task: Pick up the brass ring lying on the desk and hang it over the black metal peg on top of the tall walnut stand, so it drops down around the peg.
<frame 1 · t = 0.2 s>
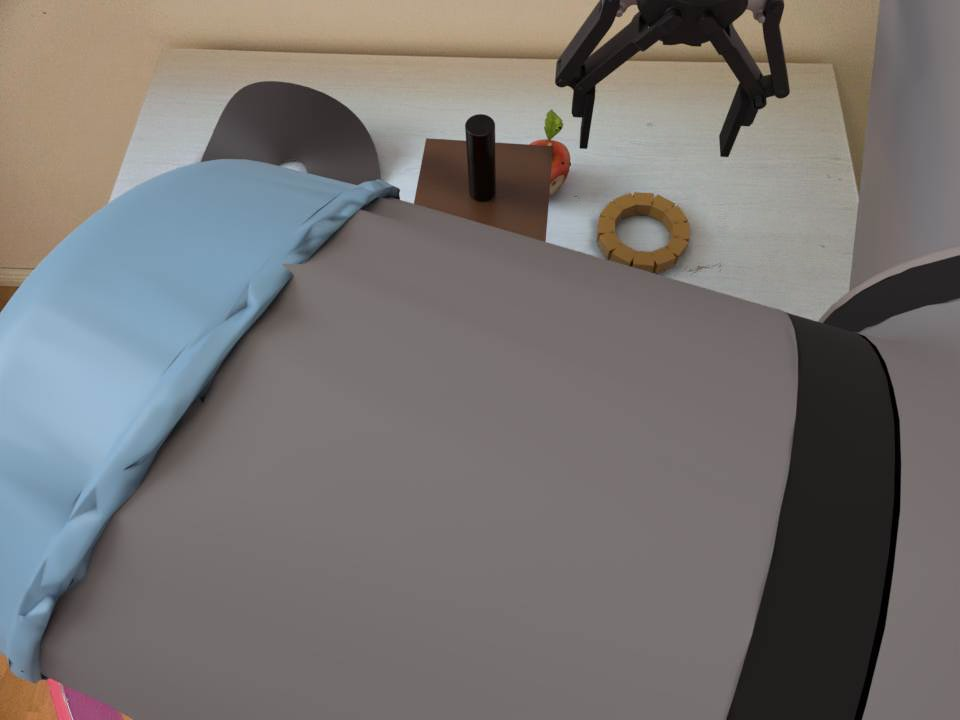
hand: (653, 142, 68), 19 cm above the table, tool pointing down, fingers open, 13 cm apart
ring: (641, 237, 86), on the table
post: (482, 191, 62), resting on stand
apple: (540, 188, 90), on the table
dark holed disc: (281, 194, 91), on the table
stand: (487, 315, 82), on the table
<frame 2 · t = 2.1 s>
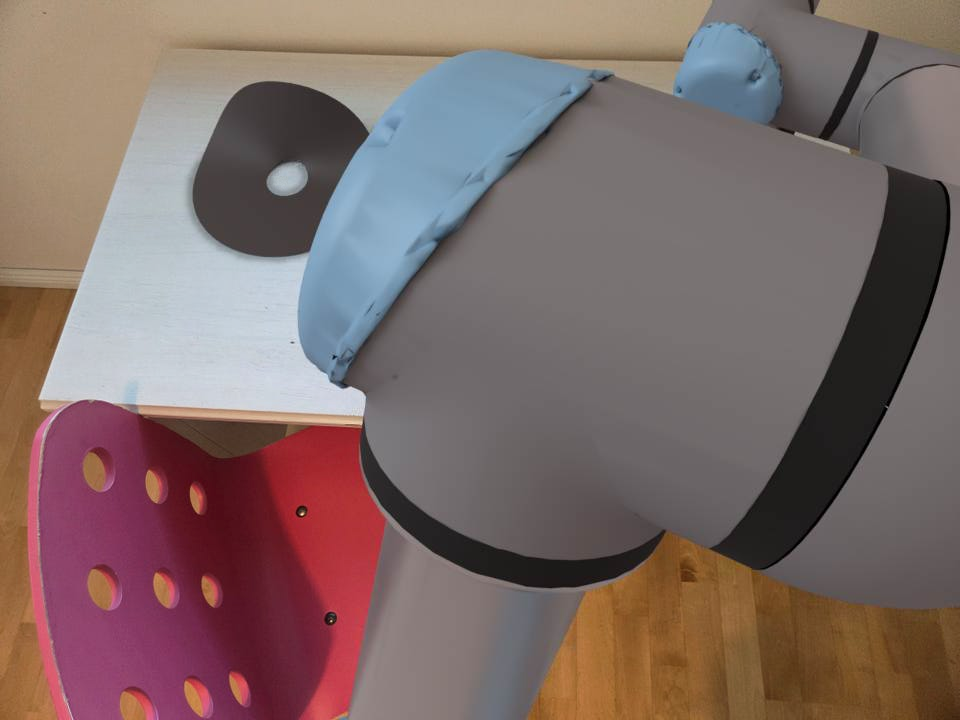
hand: (685, 219, 83), 4 cm above the table, tool pointing down, fingers open, 13 cm apart
nothing on the table moved.
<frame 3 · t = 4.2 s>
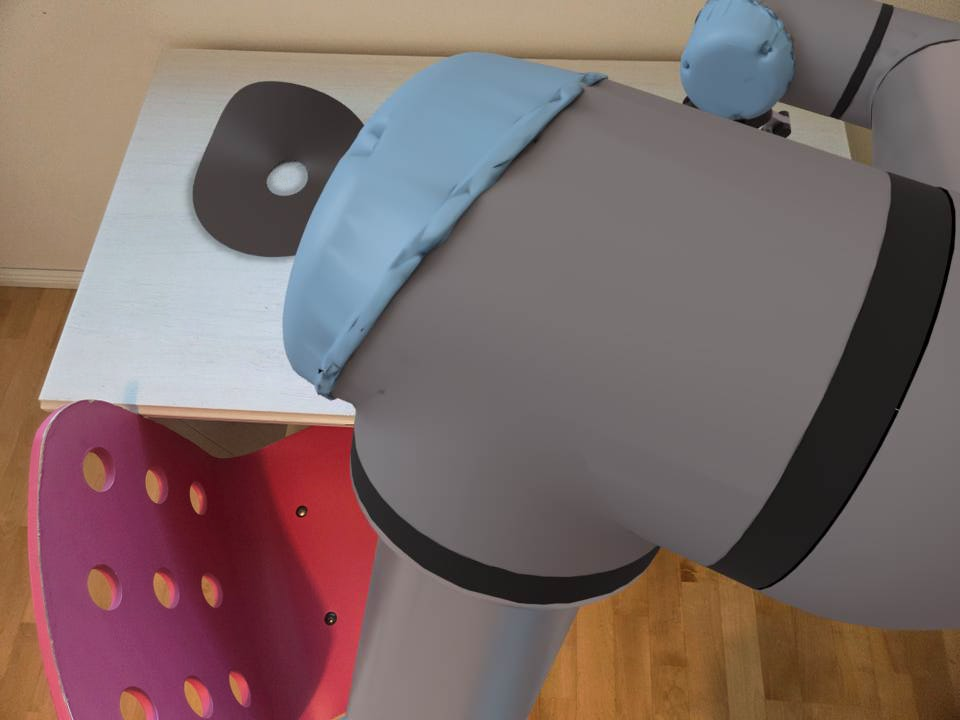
hand: (683, 224, 83), 3 cm above the table, tool pointing down, fingers closed on ring, 2 cm apart
ring: (646, 223, 83), point 3 cm above the table, touching gripper
everything else where it was.
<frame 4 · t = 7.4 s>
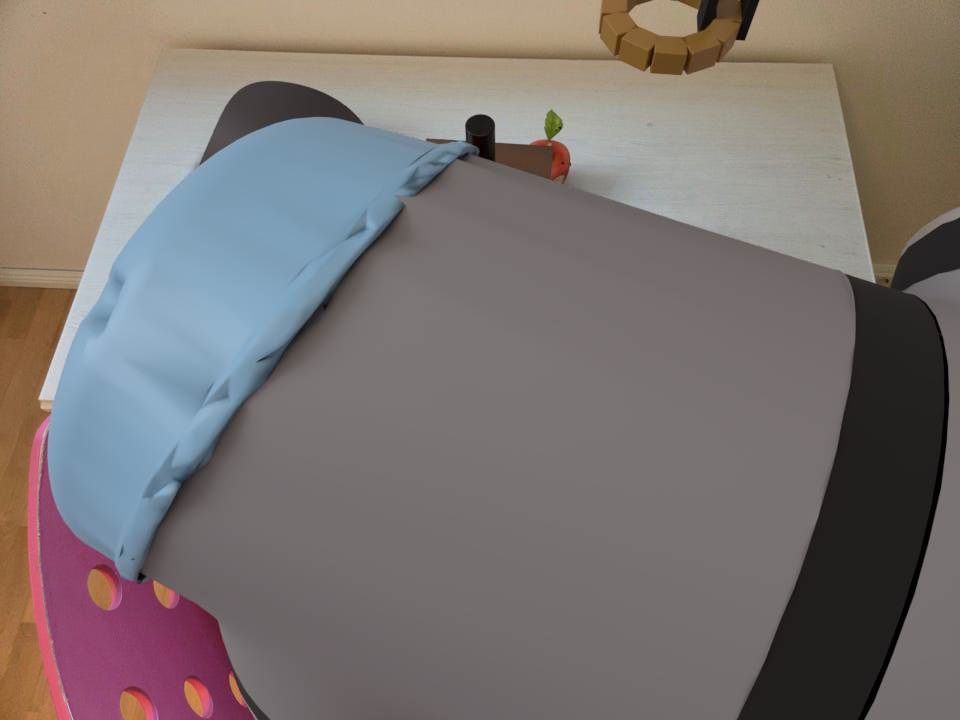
hand: (720, 27, 56), 32 cm above the table, tool pointing down, fingers closed on ring, 2 cm apart
ring: (666, 28, 57), point 32 cm above the table, touching gripper
everything else where it was.
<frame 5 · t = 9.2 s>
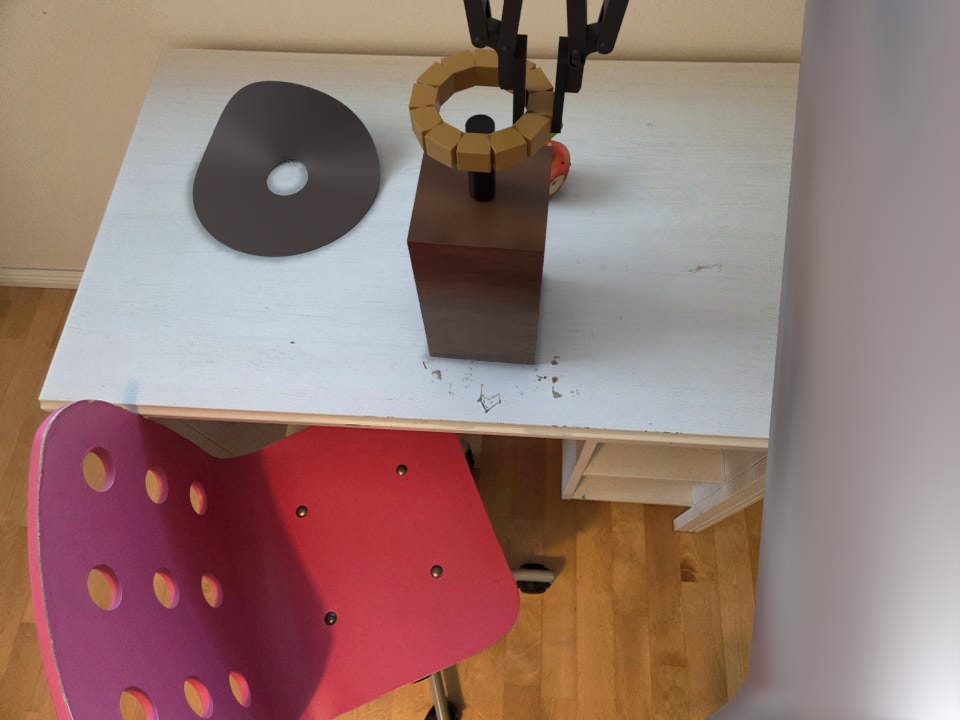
hand: (537, 118, 54), 31 cm above the table, tool pointing down, fingers closed on ring, 2 cm apart
ring: (482, 118, 55), point 31 cm above the table, touching gripper
everything else where it was.
when the fingers open (26 cm above the table, at t = 11.0 s): ring drops 3 cm, point 22 cm above the table.
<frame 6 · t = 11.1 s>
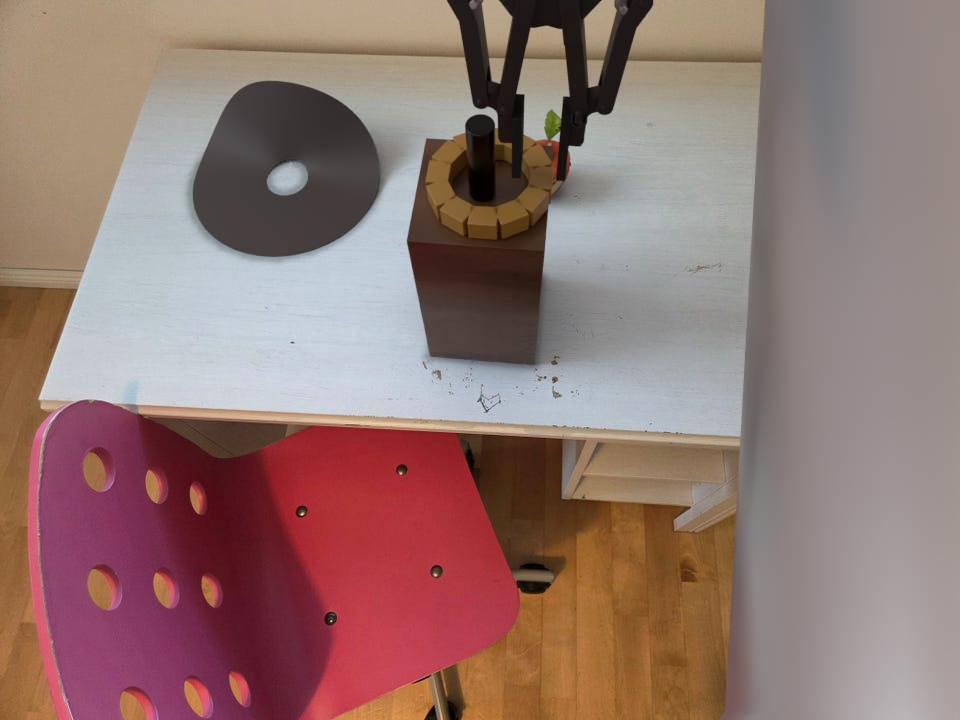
hand: (539, 166, 59), 26 cm above the table, tool pointing down, fingers open, 3 cm apart
ring: (490, 189, 62), point 22 cm above the table
everything else where it was.
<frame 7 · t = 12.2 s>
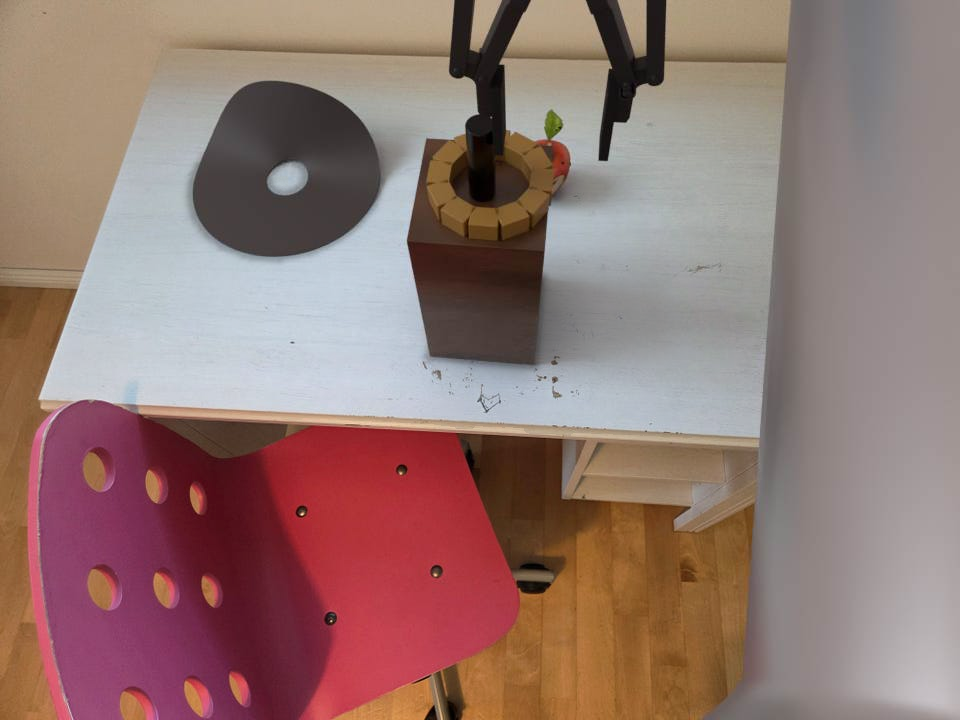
hand: (551, 145, 56), 28 cm above the table, tool pointing down, fingers open, 8 cm apart
ring: (490, 190, 62), point 22 cm above the table, touching stand
everything else where it was.
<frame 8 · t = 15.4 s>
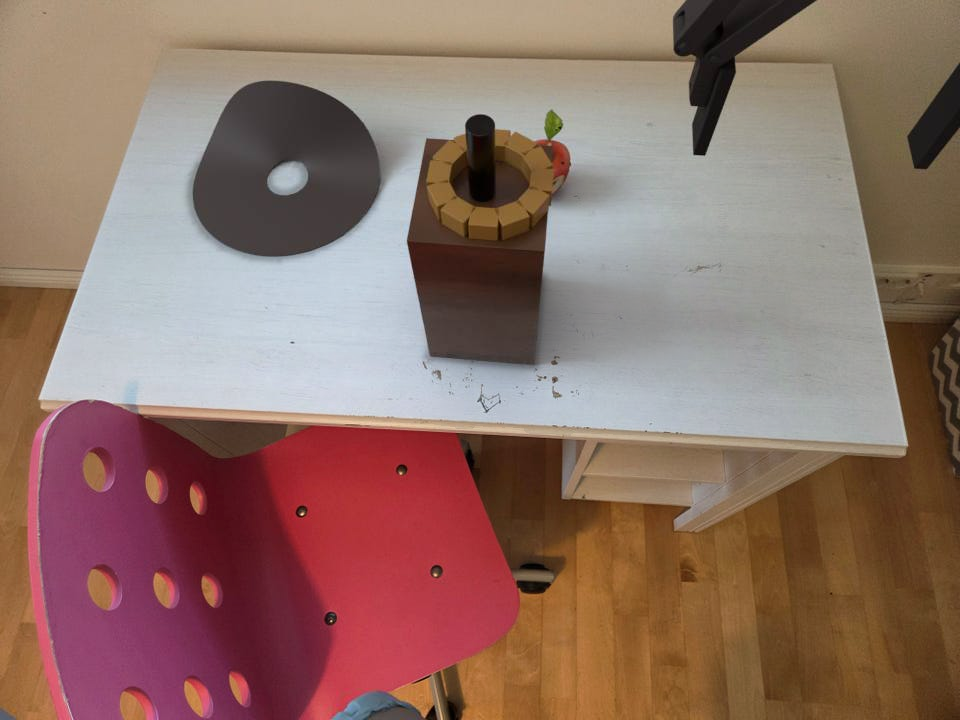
hand: (806, 146, 44), 37 cm above the table, tool pointing down, fingers open, 13 cm apart
nothing on the table moved.
at the end: ring 0.7 cm from the post (horizontally); ring inside the target area on the stand (0.7 cm from its centre), point 22.0 cm above the stand's base; the gripper is holding nothing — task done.
